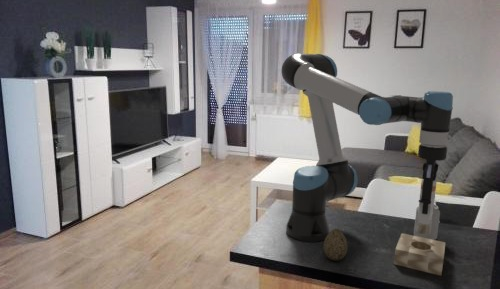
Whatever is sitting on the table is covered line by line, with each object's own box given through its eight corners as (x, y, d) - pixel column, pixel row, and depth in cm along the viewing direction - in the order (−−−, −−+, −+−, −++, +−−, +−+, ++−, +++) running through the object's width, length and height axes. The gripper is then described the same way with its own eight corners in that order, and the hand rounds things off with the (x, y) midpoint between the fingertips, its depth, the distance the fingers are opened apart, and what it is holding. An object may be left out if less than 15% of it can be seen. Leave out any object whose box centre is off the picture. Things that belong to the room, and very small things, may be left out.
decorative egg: (346, 266, 116) (349, 235, 114) (322, 263, 117) (324, 232, 115) (346, 255, 123) (348, 225, 120) (323, 252, 124) (325, 223, 122)
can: (439, 243, 132) (443, 210, 130) (415, 241, 134) (419, 208, 131) (433, 234, 140) (437, 202, 137) (411, 232, 141) (415, 200, 139)
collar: (393, 264, 118) (395, 248, 117) (400, 247, 129) (401, 233, 128) (441, 275, 112) (443, 259, 111) (443, 257, 123) (445, 242, 122)
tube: (415, 232, 117) (420, 181, 114) (416, 227, 121) (422, 178, 118) (430, 235, 116) (436, 183, 112) (431, 230, 119) (437, 180, 116)
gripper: (446, 151, 104) (436, 233, 109) (448, 141, 119) (439, 214, 123) (416, 148, 107) (407, 227, 112) (421, 139, 122) (414, 209, 127)
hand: (424, 220), depth 118 cm, fingers closed on tube, 4 cm apart
